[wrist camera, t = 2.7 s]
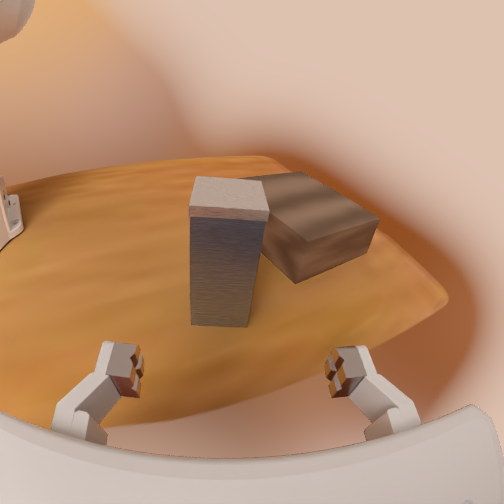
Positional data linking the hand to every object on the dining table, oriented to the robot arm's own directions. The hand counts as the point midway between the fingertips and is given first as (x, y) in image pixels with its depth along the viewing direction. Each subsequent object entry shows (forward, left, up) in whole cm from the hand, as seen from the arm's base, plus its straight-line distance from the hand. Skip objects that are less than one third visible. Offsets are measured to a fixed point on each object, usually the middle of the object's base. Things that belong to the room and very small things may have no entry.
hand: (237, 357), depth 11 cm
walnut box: (-18, +22, -11) cm, 30 cm away
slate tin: (-11, +6, -10) cm, 16 cm away
